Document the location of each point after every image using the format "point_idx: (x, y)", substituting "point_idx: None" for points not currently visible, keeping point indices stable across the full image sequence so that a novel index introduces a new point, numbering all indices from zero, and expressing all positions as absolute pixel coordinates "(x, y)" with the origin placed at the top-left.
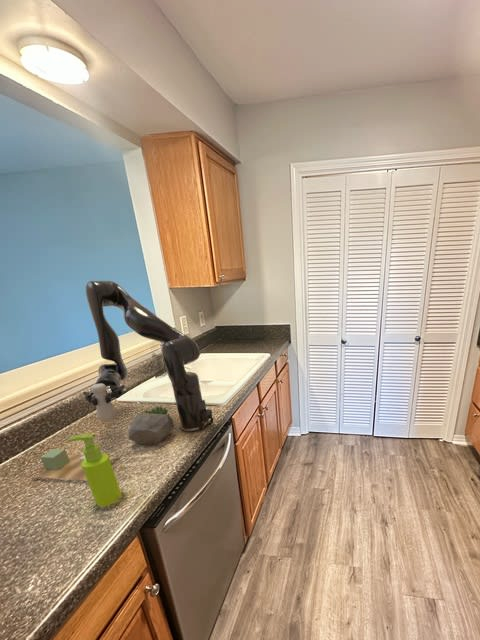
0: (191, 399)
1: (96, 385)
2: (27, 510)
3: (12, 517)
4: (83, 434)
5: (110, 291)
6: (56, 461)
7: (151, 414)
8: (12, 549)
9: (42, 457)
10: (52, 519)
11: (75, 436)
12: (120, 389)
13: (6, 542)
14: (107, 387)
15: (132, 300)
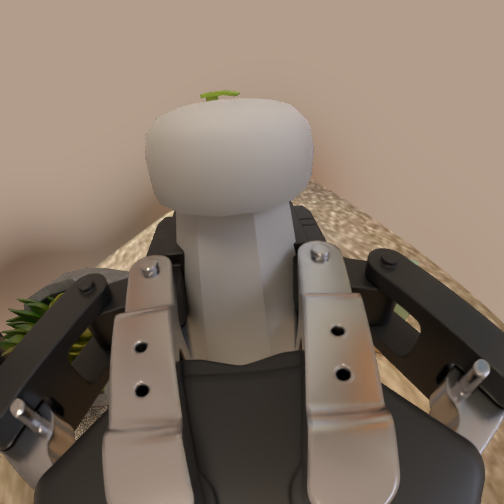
0: None
1: (232, 99)
2: (349, 220)
3: (361, 214)
4: (216, 91)
5: None
6: None
7: (58, 278)
8: (318, 186)
9: (411, 260)
10: (297, 203)
11: (228, 91)
12: (34, 336)
13: (333, 192)
14: (153, 420)
15: None
